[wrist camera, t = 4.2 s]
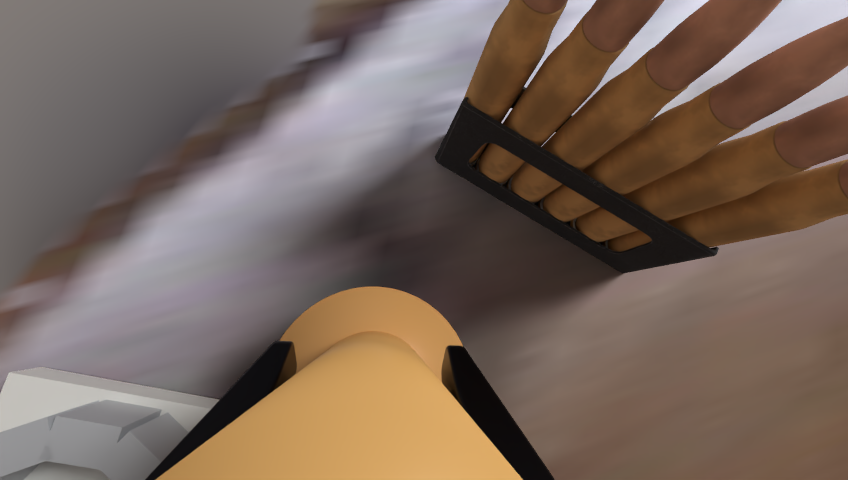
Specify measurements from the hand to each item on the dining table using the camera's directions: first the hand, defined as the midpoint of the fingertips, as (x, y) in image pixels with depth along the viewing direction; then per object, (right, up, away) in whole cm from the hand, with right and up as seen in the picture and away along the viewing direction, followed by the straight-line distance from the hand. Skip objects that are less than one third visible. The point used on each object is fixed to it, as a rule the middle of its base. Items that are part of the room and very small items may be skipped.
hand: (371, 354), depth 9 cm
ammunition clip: (+7, +5, +9) cm, 12 cm away
